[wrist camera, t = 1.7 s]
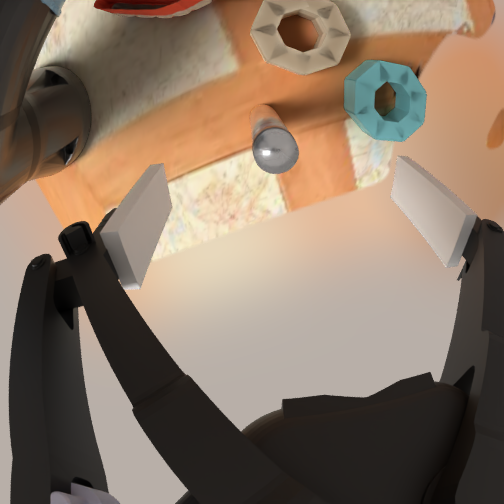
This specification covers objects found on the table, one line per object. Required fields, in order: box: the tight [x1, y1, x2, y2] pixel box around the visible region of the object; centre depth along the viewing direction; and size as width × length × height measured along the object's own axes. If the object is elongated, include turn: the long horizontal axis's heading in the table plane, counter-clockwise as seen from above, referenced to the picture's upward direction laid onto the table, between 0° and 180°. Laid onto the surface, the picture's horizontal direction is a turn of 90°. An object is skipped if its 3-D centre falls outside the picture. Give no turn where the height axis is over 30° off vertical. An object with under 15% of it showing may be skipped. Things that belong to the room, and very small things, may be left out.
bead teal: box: [344, 60, 427, 142], centre depth 26 cm, size 9×9×4 cm
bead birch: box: [250, 0, 351, 75], centre depth 21 cm, size 9×9×4 cm
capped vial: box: [250, 104, 299, 174], centre depth 23 cm, size 3×3×14 cm
